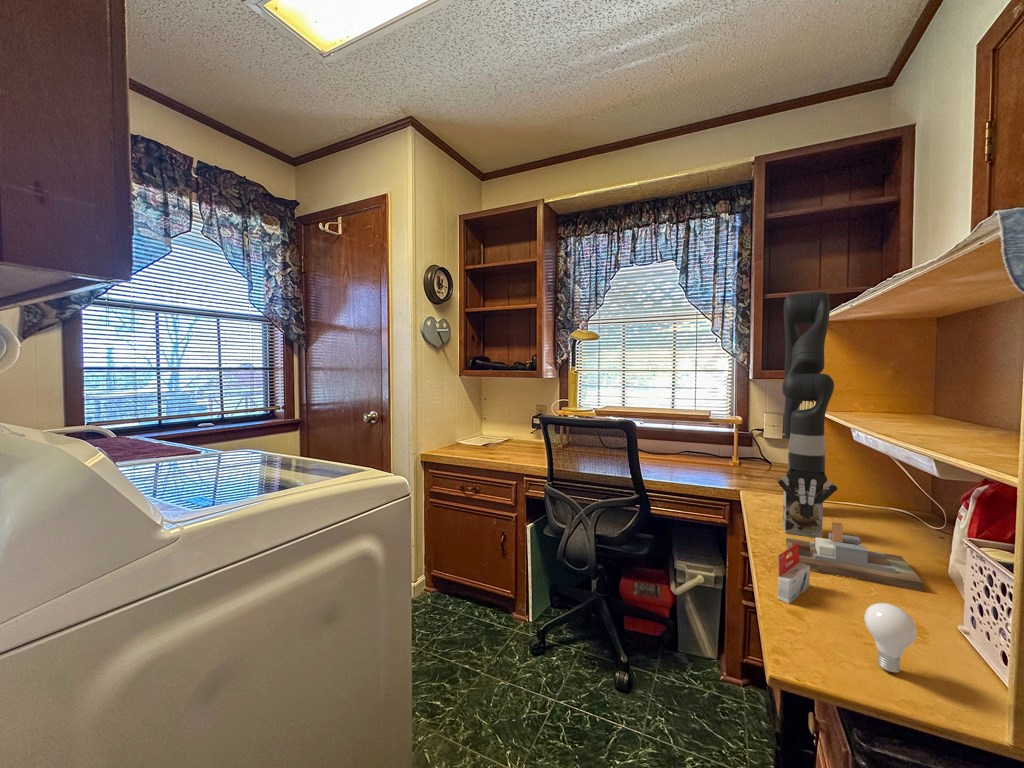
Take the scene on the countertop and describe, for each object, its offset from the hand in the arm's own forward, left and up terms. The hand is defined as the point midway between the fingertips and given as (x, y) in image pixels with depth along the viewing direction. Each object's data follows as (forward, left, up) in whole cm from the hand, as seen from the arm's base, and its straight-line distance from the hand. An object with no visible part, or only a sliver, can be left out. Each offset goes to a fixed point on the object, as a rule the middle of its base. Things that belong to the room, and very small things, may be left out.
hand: (805, 517), depth 105 cm
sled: (0, +7, -9) cm, 11 cm away
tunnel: (0, +9, -9) cm, 13 cm away
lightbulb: (+40, +7, -11) cm, 42 cm away
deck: (0, +9, -11) cm, 14 cm away
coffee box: (-19, +2, -11) cm, 22 cm away
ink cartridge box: (+20, -4, -11) cm, 23 cm away
